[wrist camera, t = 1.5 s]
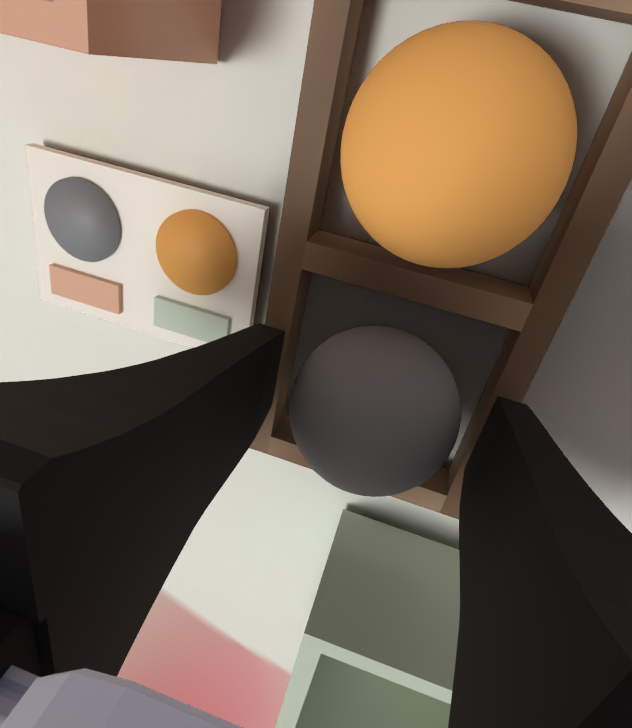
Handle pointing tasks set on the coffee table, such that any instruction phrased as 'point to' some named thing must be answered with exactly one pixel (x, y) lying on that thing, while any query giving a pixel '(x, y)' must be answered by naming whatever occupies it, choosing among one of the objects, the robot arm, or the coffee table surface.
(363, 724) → the sage open box
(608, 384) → the coffee table surface
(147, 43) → the pink open box
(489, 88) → the orange ball
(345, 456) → the grey ball
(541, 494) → the robot arm
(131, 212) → the card
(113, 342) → the coffee table surface
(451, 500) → the rack
